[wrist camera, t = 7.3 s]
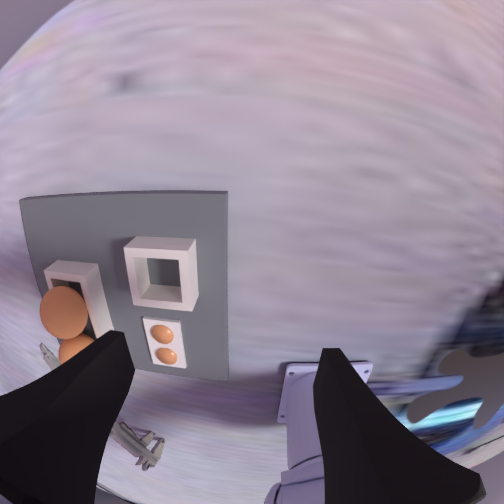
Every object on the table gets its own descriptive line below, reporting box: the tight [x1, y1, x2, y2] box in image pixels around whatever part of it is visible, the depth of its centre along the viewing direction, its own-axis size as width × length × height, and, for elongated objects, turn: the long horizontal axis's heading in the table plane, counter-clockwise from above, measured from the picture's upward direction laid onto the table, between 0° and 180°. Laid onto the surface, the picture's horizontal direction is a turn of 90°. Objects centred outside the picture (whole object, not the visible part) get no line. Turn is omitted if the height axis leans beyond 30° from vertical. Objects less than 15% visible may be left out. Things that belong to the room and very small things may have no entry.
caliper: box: [40, 343, 165, 471], centre depth 25 cm, size 20×1×6 cm, turn 40°
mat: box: [19, 191, 229, 381], centre depth 20 cm, size 16×18×1 cm
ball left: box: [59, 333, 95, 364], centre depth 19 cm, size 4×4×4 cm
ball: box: [40, 286, 88, 339], centre depth 17 cm, size 4×4×4 cm
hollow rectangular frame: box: [44, 260, 114, 338], centre depth 20 cm, size 10×4×2 cm, turn 178°
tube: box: [124, 236, 199, 312], centre depth 18 cm, size 4×4×2 cm
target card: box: [143, 316, 187, 368], centre depth 21 cm, size 5×3×1 cm, turn 178°
